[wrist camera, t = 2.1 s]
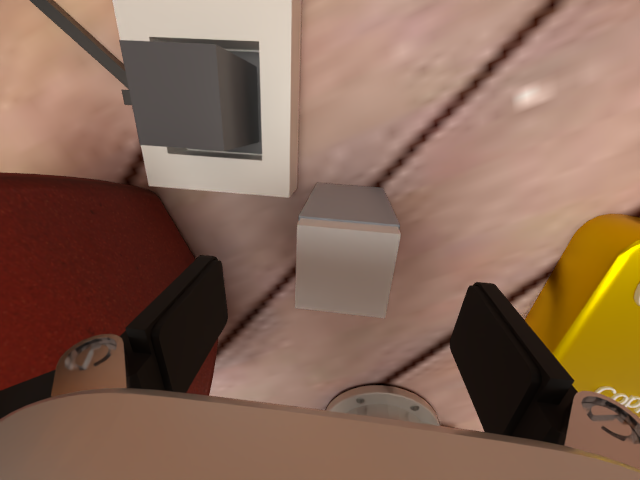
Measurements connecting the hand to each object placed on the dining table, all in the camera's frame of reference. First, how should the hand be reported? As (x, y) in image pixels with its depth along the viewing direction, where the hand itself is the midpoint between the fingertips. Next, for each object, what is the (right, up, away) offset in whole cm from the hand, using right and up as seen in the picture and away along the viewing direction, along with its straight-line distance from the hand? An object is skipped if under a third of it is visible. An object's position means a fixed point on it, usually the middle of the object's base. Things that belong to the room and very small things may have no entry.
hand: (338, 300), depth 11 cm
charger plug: (+1, +4, +11) cm, 12 cm away
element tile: (+25, -3, +13) cm, 28 cm away
